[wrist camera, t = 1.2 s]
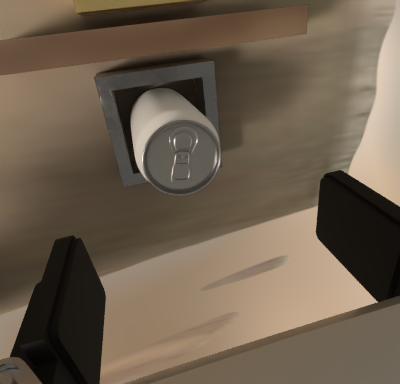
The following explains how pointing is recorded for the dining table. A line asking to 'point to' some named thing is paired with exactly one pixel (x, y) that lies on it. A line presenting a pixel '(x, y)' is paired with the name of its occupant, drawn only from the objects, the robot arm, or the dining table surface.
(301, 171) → the dining table surface
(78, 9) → the brass keeper
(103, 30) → the brown wooden plank
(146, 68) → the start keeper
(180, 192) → the can
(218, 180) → the dining table surface
